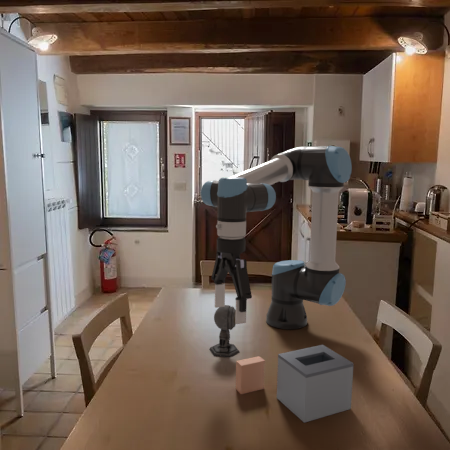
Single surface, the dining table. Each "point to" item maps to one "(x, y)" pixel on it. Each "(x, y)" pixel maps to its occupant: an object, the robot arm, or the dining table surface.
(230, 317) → the figurine
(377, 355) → the dining table surface
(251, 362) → the peach rectangular block
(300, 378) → the coin box
